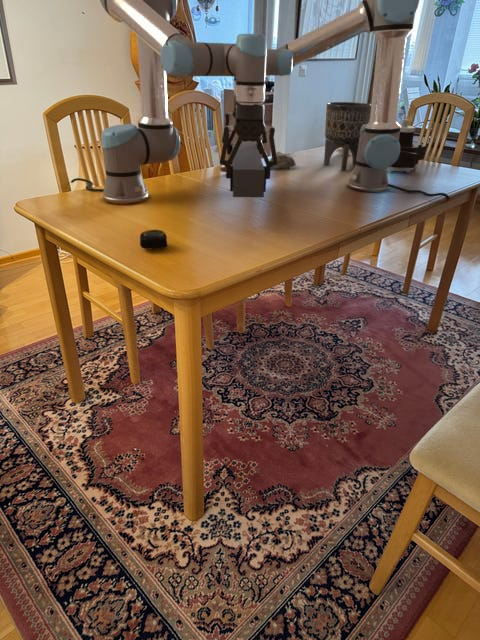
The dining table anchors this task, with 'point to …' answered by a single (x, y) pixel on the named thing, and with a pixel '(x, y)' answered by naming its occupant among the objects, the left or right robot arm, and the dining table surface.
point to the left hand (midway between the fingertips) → (247, 190)
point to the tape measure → (153, 239)
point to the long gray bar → (248, 171)
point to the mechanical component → (408, 150)
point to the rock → (283, 162)
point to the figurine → (341, 151)
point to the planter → (344, 129)
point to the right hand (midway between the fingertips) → (244, 163)
